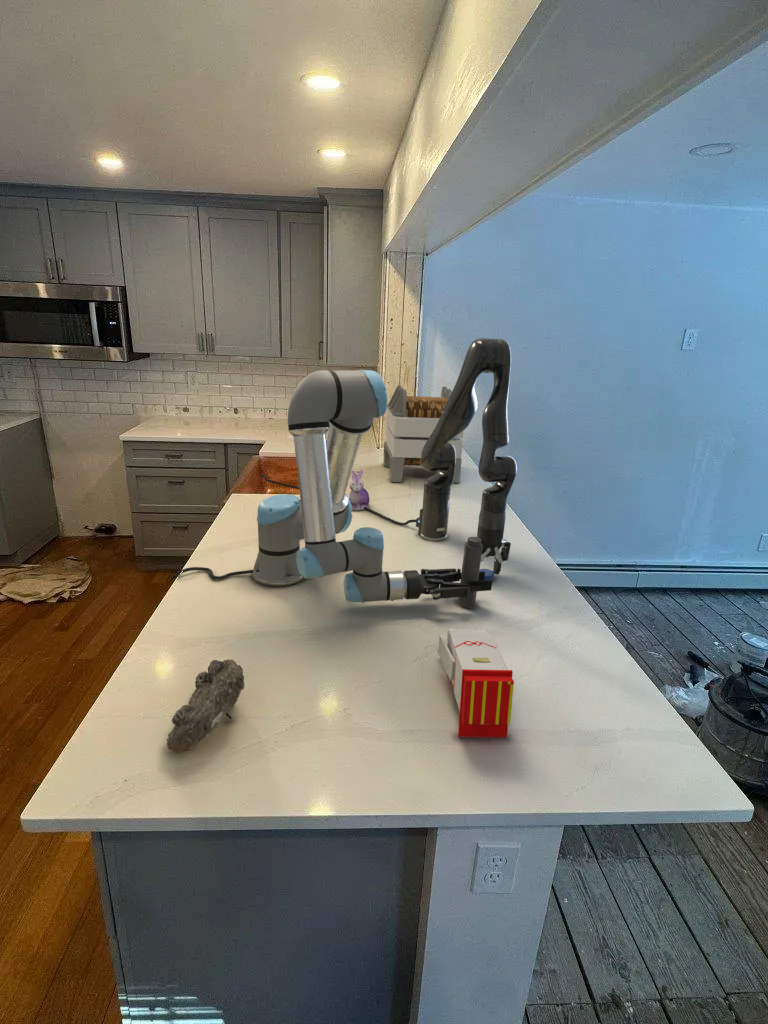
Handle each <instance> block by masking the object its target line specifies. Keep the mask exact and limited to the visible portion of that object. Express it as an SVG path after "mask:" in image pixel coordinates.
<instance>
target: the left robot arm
mask: <svg viewBox="0 0 768 1024" xmlns="http://www.w3.org/2000/svg"><path fill="white" fill-rule="evenodd" d="M386 387H387V386H386V384H385V382H384V379H383V378H382V376H381V375H380V374H379V373H378V372H377V371H375V370H370V369H363V368H360V369H356V370H355V369H354V370H353V369H352V370H351V369H349V370H346V369H345V370H327V369H321V370H316V371H313V372H311V373H309V374H308V375H306V376H305V377H304V378H303V379H302V380H301V381H300V382H299V384H298V385H297V386H296V388H295V390H294V391H293V394H292V396H291V399H290V400H289V406H288V410H287V428H288V433H289V434H290V435H291V436H292V437H293V444H294V445H293V446H294V453H295V454H294V455H295V461H296V471H297V481H298V482H297V483H298V487H299V489H298V492H299V496H297V495H296V494H295V495H294V494H292V493H288V494H285V493H281V494H276V495H272V496H268V497H267V498H265V499H263V500H262V501H261V502H260V503H259V504H258V506H257V516H256V522H257V536H258V537H257V538H258V540H257V541H258V552H257V556H256V559H255V562H254V566H253V569H248V570H247V569H246V570H238V571H232V572H228V573H226V574H223V575H214V572H213V570H212V569H211V568H209V567H203V566H202V567H201V566H192V567H186V568H183V569H180V570H178V571H177V572H176V573H175V574H174V575H173V576H172V577H171V579H172V580H173V579H176V578H178V577H179V576H181V575H183V574H185V573H188V572H193V571H200V572H208V574H209V576H210V578H211V579H213V580H217V581H219V580H225V579H228V578H230V577H233V576H239V575H249V574H252V577H253V579H254V580H255V581H256V582H257V583H259V584H260V585H264V586H268V587H287V586H293V585H295V584H298V583H300V582H302V581H303V580H304V579H314V578H323V577H328V576H330V575H331V576H332V575H334V574H335V575H336V574H340V573H345V572H349V573H346V574H345V575H344V579H343V590H344V591H343V593H344V598H345V600H346V601H347V602H349V603H369V602H381V601H391V602H394V601H401V600H404V599H405V600H418V599H419V598H420V597H421V596H422V595H431V596H432V600H433V601H437V600H441V599H452V598H453V599H455V598H459V597H468V596H469V592H473V591H477V592H487V591H489V592H490V591H492V587H493V580H484V577H485V572H484V571H479V578H478V581H468V583H460V582H459V581H461V573H462V568H457V569H456V568H435V569H434V568H433V569H432V568H431V569H429V568H428V569H427V568H421V569H420V573H419V571H418V570H417V569H413V570H411V569H410V570H404V571H402V570H391V571H390V570H389V571H383V560H384V559H383V558H384V550H385V549H384V548H385V543H384V541H385V540H384V534H383V532H382V531H381V530H379V529H378V528H376V527H370V526H369V527H368V526H365V527H359V528H357V529H355V530H354V532H353V536H352V539H347V540H342V541H337V540H336V535H338V534H343V533H345V532H346V531H347V530H348V529H349V527H350V526H351V523H352V521H353V510H352V505H351V502H350V500H349V495H347V493H346V492H347V490H348V486H349V484H350V479H351V477H352V471H353V469H354V465H355V462H356V459H357V455H358V451H359V448H360V444H361V441H362V438H363V434H365V433H367V432H368V431H370V429H371V428H372V424H373V421H374V419H375V418H376V419H380V418H382V417H383V416H384V415H385V414H386V412H387V405H388V392H387V388H386ZM327 433H328V434H327ZM303 540H304V546H303V547H301V541H303ZM182 571H183V572H182ZM351 571H352V572H351ZM181 572H182V573H181ZM180 573H181V574H180Z"/></svg>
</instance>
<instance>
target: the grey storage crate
mask: <svg viewBox="0 0 768 1024" xmlns="http://www.w3.org/2000/svg"><path fill="white" fill-rule="evenodd" d="M452 391H453V390H452V389H451V388H447V386H442V387H441V392H440V393H441V394H440V396H415V395H414V396H413V395H412V396H411V395H407V394H408V393H407V390H406V389H404V388H403V387H402V385H399V384H398V385H397V386H396V388H395V390H394V392H393V394H392V395H391V398H390V400H389V402H387V409H386V412H385V414H386V415H385V423H386V428H385V438H384V442H383V466H384V467H388V468H389V475H388V476H389V477H388V478H389V480H390V482H391V483H402V482H403V475H404V469H405V466H406V467H407V466H411V467H412V466H413V467H415V466H416V467H417V466H418V467H422V466H421V462H420V457H421V452H422V449H423V447H424V445H425V444H426V442H427V440H428V439H429V437H430V436H431V434H432V432H433V431H434V429H435V427H436V425H437V423H438V421H439V419H440V417H441V415H442V412H443V410H444V407H445V405H446V403H447V401H448V399H449V397H450V395H451V393H452ZM464 431H465V430H464ZM464 431H463V432H461V433H460V434H459V435H457V436H456V437H455V438H453V439H452V440H451V441H449V442H448V443H451V444H452V445H453V446H454V448H455V451H456V464H455V471H454V478H453V483H452V484H455V483H456V484H459V483H461V472H462V461H463V460H462V453H463V442H464V441H463V440H462V439H463V438H464Z"/></svg>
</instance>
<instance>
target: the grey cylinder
mask: <svg viewBox="0 0 768 1024" xmlns="http://www.w3.org/2000/svg"><path fill="white" fill-rule="evenodd" d="M482 547H483V545H482V544H481V539H480V538H478V537H477V536H468V537H467V539H466V541H465V542H464V549H463V557H462V563H461V572H462V573H461V579H460V582H459V583H468V581H478V578H479V571H480V569H481V564H482V562H481V555H482ZM477 593H478V591H473V592H469V596H468V597H457V599H458V600H457V604H458V605H459V606H460V607H462V608H465V609H470V608H471V609H472V608H475V606H476V601H477Z"/></svg>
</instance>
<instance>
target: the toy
mask: <svg viewBox="0 0 768 1024" xmlns="http://www.w3.org/2000/svg"><path fill="white" fill-rule="evenodd" d="M446 640H447V643H446V641H445V639H444V636H443V635H442V634H439V637H438V646H437V656H438V657H439V659H440V661H441V663H442V666H443V668H444V670H445V672H446V674H447V677H448V679H449V681H450V684H451V687H452V690H453V693H454V697H455V701H456V705H457V708H458V711H459V714H458V715H459V716H458V730H457V731H458V732H457V737H458V738H508V731H509V726H510V725H511V717H512V707H513V697H514V696H513V695H514V684H515V680H514V679H513V673H514V671H513V670H512V669H508V667H507V665H506V662H505V661H504V659H503V658H502V655H501V653H500V651H499V649H498V647H497V643H496V639H495V637H494V635H493V634H491V632H490V631H489V629H467V628H466V629H465V628H463V629H461V628H460V629H459V628H448V630H447V639H446Z"/></svg>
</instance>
